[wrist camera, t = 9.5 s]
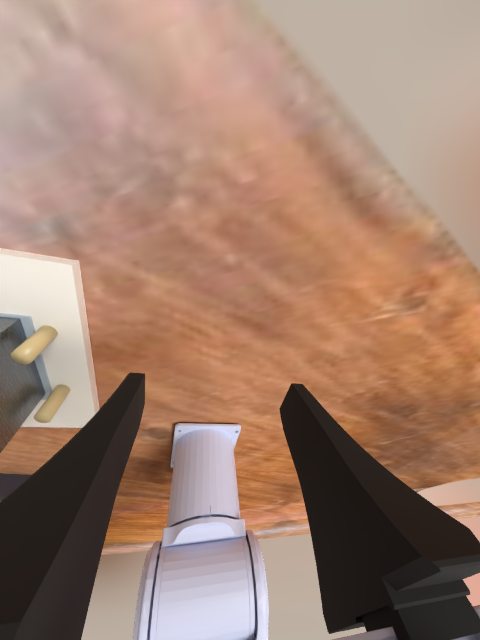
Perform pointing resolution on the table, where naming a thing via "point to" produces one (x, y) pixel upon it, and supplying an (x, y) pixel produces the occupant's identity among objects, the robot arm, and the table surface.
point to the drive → (15, 381)
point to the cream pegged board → (51, 334)
